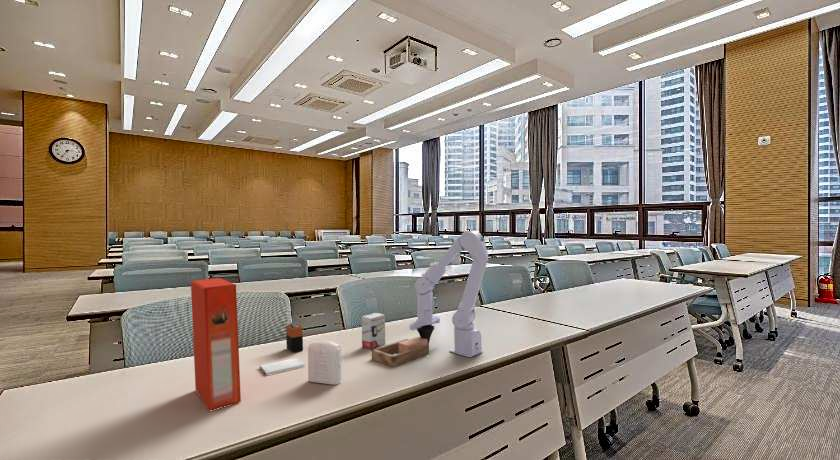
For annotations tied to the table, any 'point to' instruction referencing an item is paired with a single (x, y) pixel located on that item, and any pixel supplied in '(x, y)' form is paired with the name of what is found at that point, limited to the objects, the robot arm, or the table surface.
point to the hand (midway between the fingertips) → (425, 345)
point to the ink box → (373, 330)
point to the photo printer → (324, 362)
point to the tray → (385, 353)
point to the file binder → (216, 342)
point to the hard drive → (282, 366)
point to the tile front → (407, 345)
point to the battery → (294, 337)
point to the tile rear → (420, 341)
